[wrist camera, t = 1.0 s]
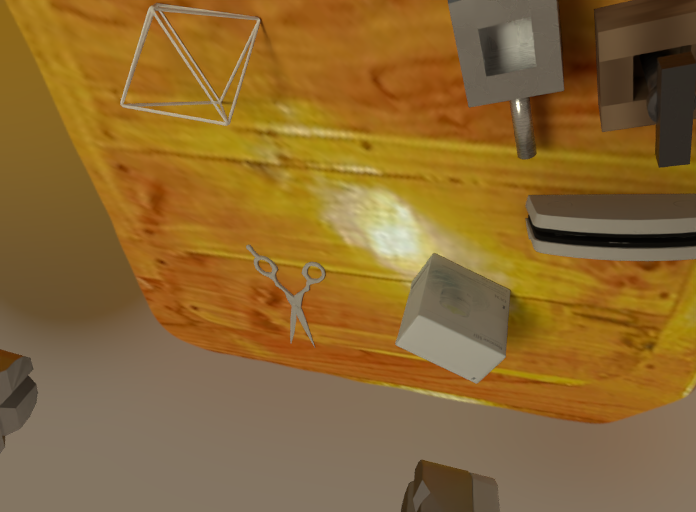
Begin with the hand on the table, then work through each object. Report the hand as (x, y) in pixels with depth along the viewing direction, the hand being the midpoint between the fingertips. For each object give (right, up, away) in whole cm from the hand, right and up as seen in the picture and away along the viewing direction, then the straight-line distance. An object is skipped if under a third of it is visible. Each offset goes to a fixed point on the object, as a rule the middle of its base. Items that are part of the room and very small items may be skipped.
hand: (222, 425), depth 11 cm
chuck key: (+26, +19, +31) cm, 45 cm away
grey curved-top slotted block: (+29, +9, +42) cm, 51 cm away
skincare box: (+16, 0, +54) cm, 57 cm away
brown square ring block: (+27, +20, +31) cm, 46 cm away
